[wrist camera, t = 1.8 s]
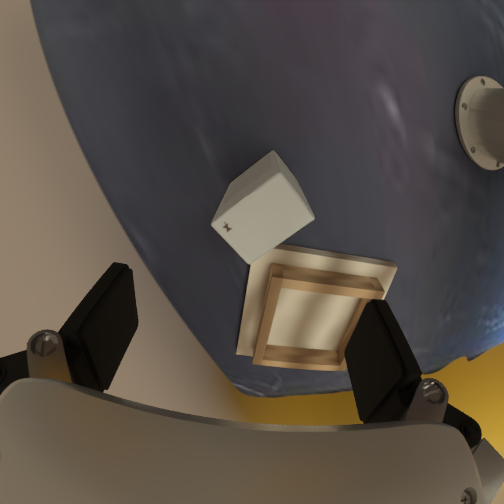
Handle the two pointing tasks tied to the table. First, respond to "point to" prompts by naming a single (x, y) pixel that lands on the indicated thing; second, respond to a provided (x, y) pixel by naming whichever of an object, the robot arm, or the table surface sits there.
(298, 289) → the socket stand
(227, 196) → the skincare box
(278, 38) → the table surface
